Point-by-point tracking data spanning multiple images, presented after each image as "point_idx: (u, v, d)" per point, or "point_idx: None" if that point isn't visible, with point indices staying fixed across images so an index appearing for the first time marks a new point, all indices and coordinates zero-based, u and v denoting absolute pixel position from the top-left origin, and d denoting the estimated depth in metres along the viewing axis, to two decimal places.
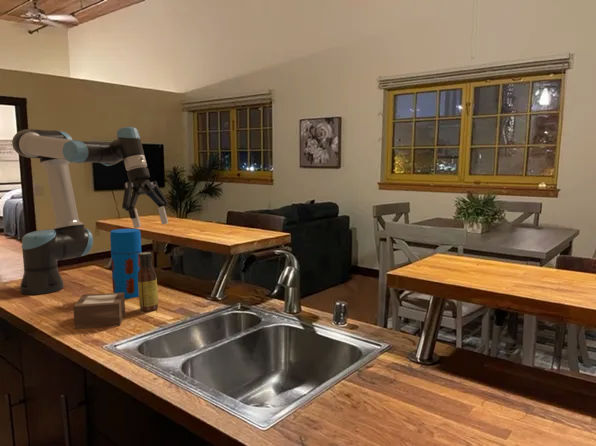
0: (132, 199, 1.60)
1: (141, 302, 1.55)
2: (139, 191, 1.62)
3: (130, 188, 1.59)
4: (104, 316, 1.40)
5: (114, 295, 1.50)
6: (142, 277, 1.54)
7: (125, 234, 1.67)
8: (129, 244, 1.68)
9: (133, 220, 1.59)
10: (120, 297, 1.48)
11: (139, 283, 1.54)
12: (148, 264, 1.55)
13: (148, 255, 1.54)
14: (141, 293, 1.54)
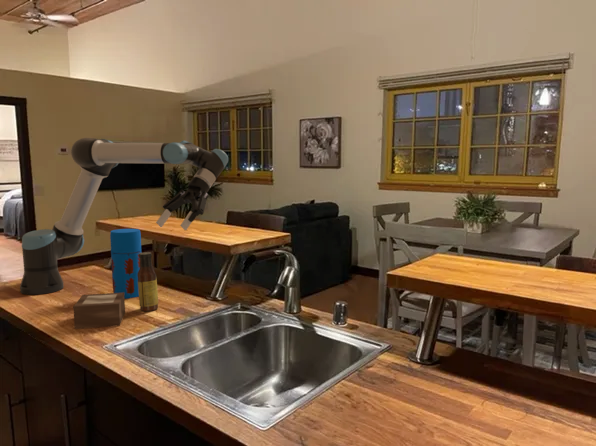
0: (197, 206, 1.64)
1: (141, 302, 1.55)
2: None
3: None
4: (104, 316, 1.40)
5: (114, 295, 1.50)
6: (142, 277, 1.54)
7: (125, 234, 1.67)
8: (129, 244, 1.68)
9: (186, 220, 1.59)
10: (120, 297, 1.48)
11: (139, 283, 1.54)
12: (148, 264, 1.55)
13: (148, 255, 1.54)
14: (141, 293, 1.54)
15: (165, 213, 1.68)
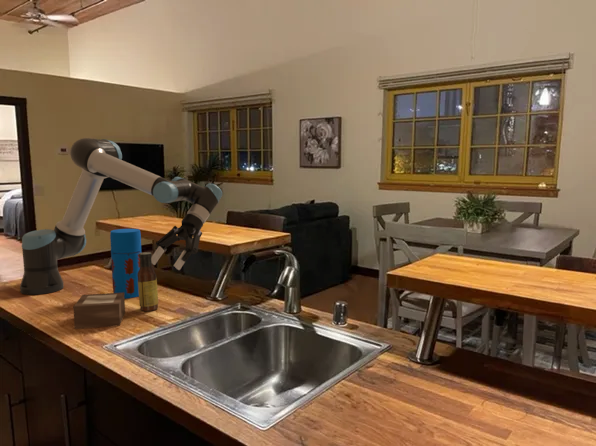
0: (190, 244, 1.62)
1: (141, 302, 1.55)
2: None
3: None
4: (104, 316, 1.40)
5: (114, 295, 1.50)
6: (142, 277, 1.54)
7: (125, 234, 1.67)
8: (129, 244, 1.68)
9: (180, 260, 1.57)
10: (120, 297, 1.48)
11: (139, 283, 1.54)
12: (148, 264, 1.55)
13: (148, 255, 1.54)
14: (141, 293, 1.54)
15: (158, 251, 1.66)
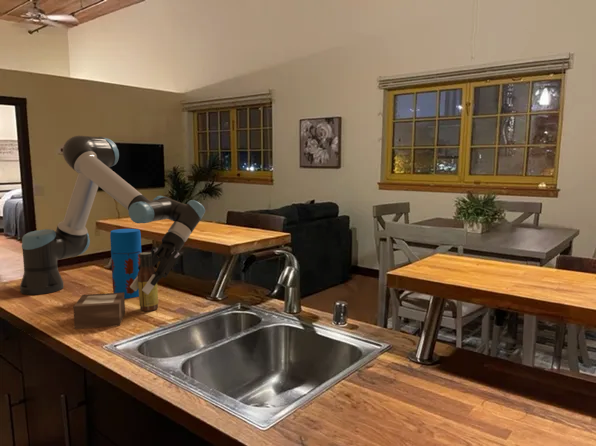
0: (163, 267, 1.57)
1: (141, 302, 1.55)
2: None
3: None
4: (104, 316, 1.40)
5: (114, 295, 1.50)
6: (142, 277, 1.54)
7: (125, 234, 1.67)
8: (129, 244, 1.68)
9: (149, 284, 1.53)
10: (120, 297, 1.48)
11: (139, 283, 1.54)
12: (148, 264, 1.55)
13: (148, 255, 1.54)
14: (141, 293, 1.54)
15: None
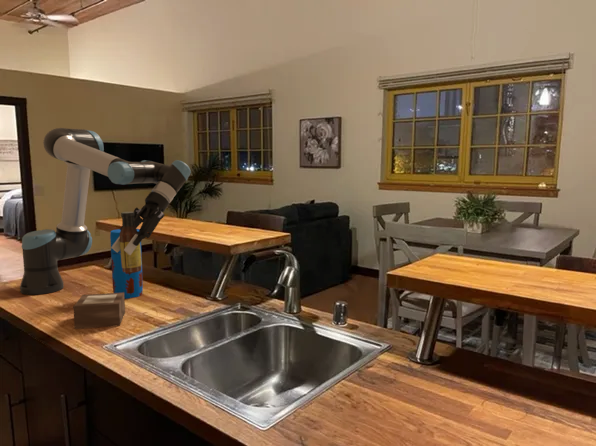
0: None
1: (123, 263, 1.48)
2: None
3: None
4: (104, 316, 1.40)
5: (114, 295, 1.50)
6: (124, 237, 1.47)
7: None
8: None
9: (131, 244, 1.46)
10: (120, 297, 1.48)
11: (121, 243, 1.48)
12: (131, 223, 1.48)
13: (130, 214, 1.47)
14: (123, 254, 1.48)
15: None
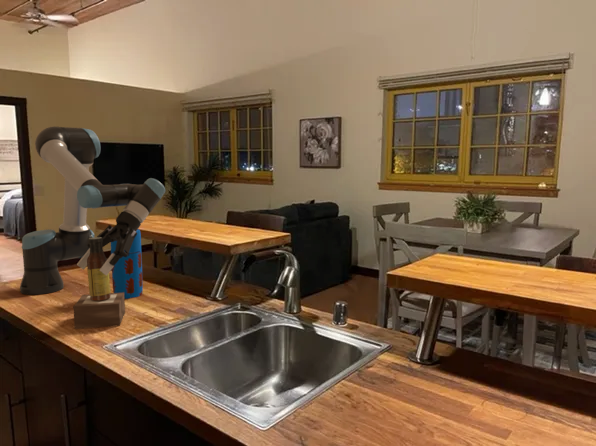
0: (122, 246, 1.44)
1: (91, 291, 1.43)
2: None
3: None
4: (104, 316, 1.40)
5: (114, 295, 1.50)
6: (92, 264, 1.41)
7: None
8: None
9: (107, 264, 1.39)
10: (120, 297, 1.48)
11: (88, 270, 1.42)
12: (98, 249, 1.42)
13: (98, 240, 1.42)
14: (90, 281, 1.42)
15: (88, 253, 1.48)
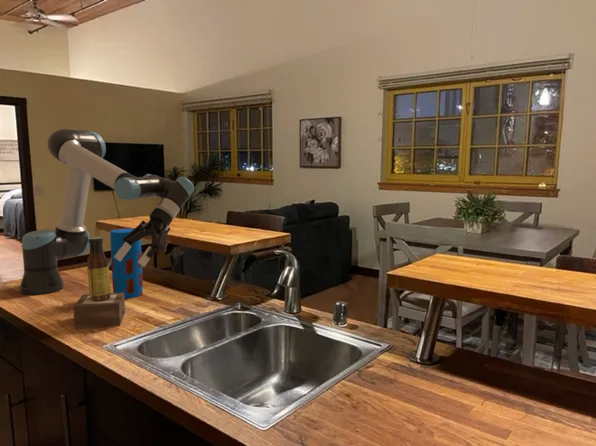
0: (157, 240, 1.54)
1: (91, 291, 1.43)
2: None
3: None
4: (104, 316, 1.40)
5: (114, 295, 1.50)
6: (92, 264, 1.41)
7: (125, 234, 1.67)
8: None
9: (145, 256, 1.50)
10: (120, 297, 1.48)
11: (88, 270, 1.42)
12: (98, 249, 1.42)
13: (98, 240, 1.42)
14: (90, 281, 1.42)
15: (124, 246, 1.58)
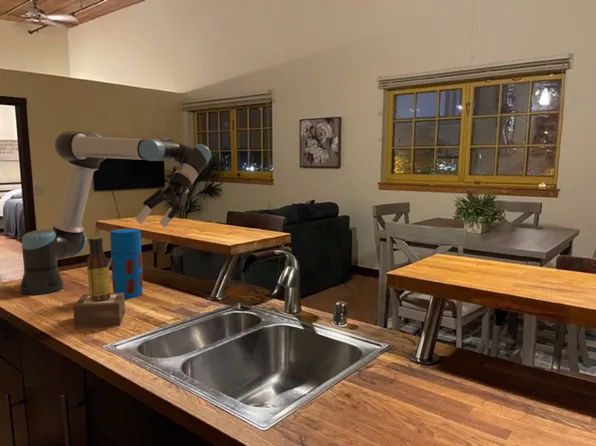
0: (177, 202, 1.59)
1: (91, 291, 1.43)
2: None
3: None
4: (104, 316, 1.40)
5: (114, 295, 1.50)
6: (92, 264, 1.41)
7: (125, 234, 1.67)
8: (129, 244, 1.68)
9: (166, 217, 1.55)
10: (120, 297, 1.48)
11: (88, 270, 1.42)
12: (98, 249, 1.42)
13: (98, 240, 1.42)
14: (90, 281, 1.42)
15: (145, 209, 1.63)
